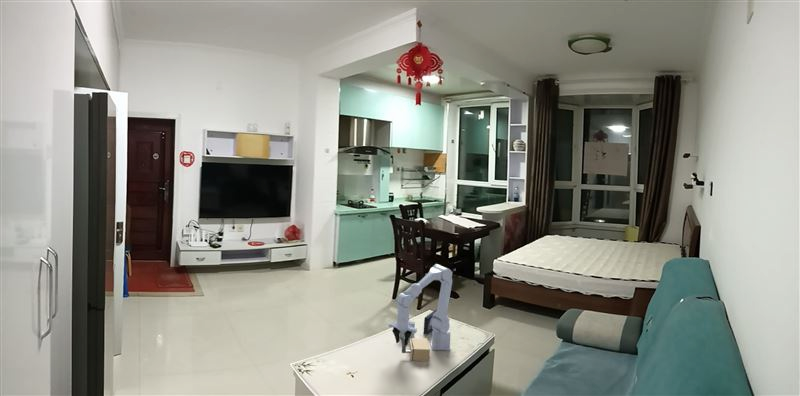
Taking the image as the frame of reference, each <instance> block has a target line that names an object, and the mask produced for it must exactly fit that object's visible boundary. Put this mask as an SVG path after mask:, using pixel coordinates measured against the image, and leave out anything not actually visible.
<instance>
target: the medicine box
mask: <svg viewBox="0 0 800 396" xmlns="http://www.w3.org/2000/svg"><path fill="white" fill-rule="evenodd" d="M415 322H416V321H415V320H409V326H411V327H414V328H416V327H415V325H416V323H415ZM405 332H406V331H405V330H400V339H402V338H404V337H405V335H404V333H405ZM412 338H415V334H414V333H413V332H412V334H411V336H410V338H409V340H410V339H411V340H412Z"/></svg>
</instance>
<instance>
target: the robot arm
mask: <svg viewBox="0 0 800 396" xmlns="http://www.w3.org/2000/svg"><path fill="white" fill-rule="evenodd" d="M452 277H453V271H452V270H451V269H450V268H448V267H445V266H442V265H441V264H438V263H435V264H434V265H433V266H432V267H430V269H429V271H428V273H427V274H426V275H424V277H422V279H420V280H419V281H418V282H417V283H412V284H411V285H410V286H409V287H408V288H407V289H406V290H404V291H403V292H401V293H398V294H397V296H396V298H395V301H396V303H397V314H396V315H397V316H396V317H397V319H396V322H392V321H391V322H389V323H388V327H389V328H393V329H392V330H391V331H392V333H393V335H394V339H395V342H396V344H399V342H400V339H401V338H400V330H405V331H406V332H405V333H404V335H405V346H406V347H407V345H408V343H409V342H410V339H409V338H410V336H411V334H412V332H413V333H414V335H415V334H416V333H417V332H418V329H417V328H416V327H415V328H414V327H411V326H409V321H410V306H411V305H412V304H413V301H414V299H416V298H417V297H418V296H419V295H420V294H422V293H423V292H422V291H423V289H424V288H425V287H427V286H428V285H429V284H431V283H432V282H433V281H439V282H440V283H441V284H440V291H439V296H438V301H437V306H436V309H437V311H436V312H435V313H433V316H432V318H431V321H430V324H431V326H432V329H433V331H432V332H431V333H432V335H431V336H432V337H431V339H432V340H431V341H430V342H429V343H430V347H431V348H430V349H431V350H433V351H450V349H451V348H450V347H451V331H450V318H449V316H448V308H449V302H450V298H451V297H450V296H451V291H452V286H453V278H452Z"/></svg>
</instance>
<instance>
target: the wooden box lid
mask: <svg viewBox="0 0 800 396" xmlns="http://www.w3.org/2000/svg"><path fill="white" fill-rule="evenodd" d="M411 340H412V339H409V349H408V350H407V345H406V346H405V337H404V338H401V353H402V354H407V353H409V355H410V356H409V357H410V361H413V357H412V354H413V348H412V341H411Z"/></svg>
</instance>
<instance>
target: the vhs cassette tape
mask: <svg viewBox="0 0 800 396" xmlns="http://www.w3.org/2000/svg"><path fill="white" fill-rule="evenodd" d="M436 311H437V308H436V309H435V310H433V311H432V312H431V313H429V314H428V315H426V316H425V317H424V320H423V334H424V335H429V334H430V333H433V329H432V326H431V324H430V321H431V318H432V316H433V313H435V312H436Z"/></svg>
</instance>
